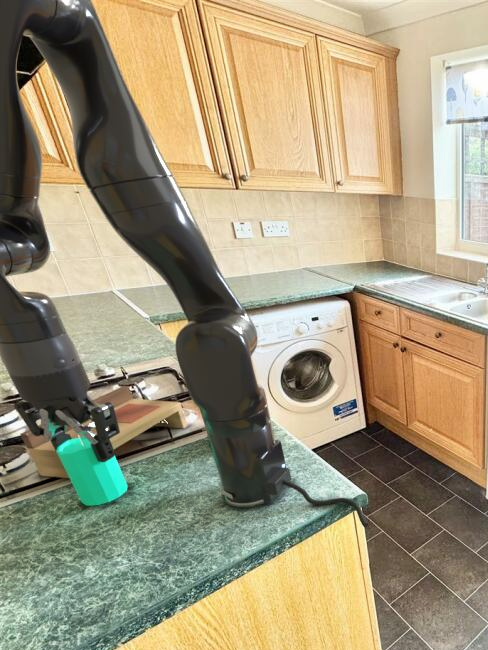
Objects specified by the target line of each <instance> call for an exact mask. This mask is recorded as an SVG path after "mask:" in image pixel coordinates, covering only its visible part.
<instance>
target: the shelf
mask: <svg viewBox="0 0 488 650" xmlns="http://www.w3.org/2000/svg"><path fill="white" fill-rule="evenodd" d="M92 400H93V402H94V403H96V404H104V403H106V402H110V403H112V404H113V406H114V410H115V414H116V418H117V422H118V426H119V430H120V433H119V434H117V435H115V436H114V437H112V438H110V441H111V444H112V446H113V448H114V450H115V449H117V448H119V447H120V446H122V445H125V444H126V443H127V442H129V441H131V440H132V439H134V438H136V437H137V436H138V435H140V434H142V433H144V432H145V431H147V430H149V429H150V428H152V427H160V428H161V427H162V428H173V429H185V428H187V427H188V423H187V420H186V416H185V412H184V410H183V407H182V403H181V402H179V401H165V400H156V399H155V400H154V399H142V398H141V399H140V398H134V397H133V394H132V392H131V389H130V386H127V385H123V386H121V387H119V388H116V389H114V390H112V391H110V392H107V393H106V394H104V395H101V396H99V397H97V398H95V399H92ZM164 419H165V420H166V421H167V422H168V424H167V423H166V424H165V423H159V422H160V421H162V420H164ZM90 423H91V419H90V418H89V420H88V421H86V422H84V423H82V424H81V425H82V426H86V425H88V424H90ZM37 425H38V426H39V427H40V426H41V424H37ZM107 430H109V426H108V427H107ZM91 431H92V432H93V433H94V434H97V432H96V429H95V428H91ZM65 434H70V436H71V438H72V439H75V438H79V437H78V435H79V436H80V437H83V436H84V435H83V434H78V433H76V432H75V431H74V430H73V429H72V428H71V427H70V426H68V428H67V432H66V433H65ZM20 437H21V439H22V441H23V443H24V445H25V447H26V449H27V451H28V453H29V454H30V456H31V458H32V460H33V462H34V464H35V466H36V469H37V470H38V473H39V474H40V476H42V477H51V478H52V477H53V478H62V479H64V478H65V479H70V478H69V476H68V474H67V472H66V470H65V468H64V466H63V464H62V462H61V460H60V458H59V456H58V454H57V453H56V451H55V449H54V447H53V445H52V443H51V441H49V440H47V439H45V438H44V436H43V435H40V436H35V435H33V434H32V432H31V431H30V429H27V430H25V431H24V432H21V433H20Z"/></svg>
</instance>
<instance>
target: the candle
mask: <svg viewBox="0 0 488 650" xmlns="http://www.w3.org/2000/svg"><path fill="white" fill-rule="evenodd" d="M95 435H96V434H95ZM78 437H79V438H75V439H71V440H67V441H65V442H64V443H62V444H61V445H59V446H58V448H57V450H56V452H57V454H58V456H59V458H60V460H61V462H62V464H63V466H64V468H65V470H66V472H67V474H68V476H69V478H68V479H69V480H70V482H71V484H72V486H73V488H74V490H75V492H76V494H77V496H78V498H79V500H80V502H81V503H82V505H83V504H84V505H85V506H98V505H103V504H106V503H110V502H112V501H114V500H116V499H118V498H120V497H122V496H123V495H124V494H125V493H126V492H127V491H128V488H129V487H128V483H127V481H126V478H125V475H124V474H123V471H122V469H121V467H120V465H119V462H118V460H117V458H116V454H115V455H114V457H113V458H111V459H109V460H108V461H106V462H99V461H98V460H97V458H96V455H95V453H94V451H93V449H92V446H91V442H90V441H89V440H88V439H87V438H86V437H85V436H83V437H80V436H79V435H78Z"/></svg>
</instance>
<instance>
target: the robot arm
mask: <svg viewBox="0 0 488 650" xmlns="http://www.w3.org/2000/svg"><path fill="white" fill-rule="evenodd" d="M24 36H25V37H29V39H30V40H31V41H32V42H33V44H34V45H35V47H36V48H37V50H38V52H39V53H40V54H41V56H42V57H43V59H44V61H45V63H46V64H47V66H48V68H49V70H50V71H51V73H52V74H53V76H54V78H55V80H56V81H57V83H58V85H59V87H60V89H61V91H62V93H63V96H64V97H65V100H66V103H67V106H68V109H69V115H70V120H71V128H72V129H71V130H72V131H71V132H72V143H73V149H74V150H73V151H74V158H75V163H76V166H77V170H78V172H79V175H80V178H81V179H82V181H83V183H84V185H85V187H86V188H87V190H88V191H89V193H90V195H91V197H92V198H93V200H94V201H95V203H96V204H97V206H98V208H99V210H100V211H101V213H102V214H103V216H104V218H105V220H106V221H107V222H108V224H109V225H110V226H111V228H112V229H113V230H114V232H115V233H116V234H117V236H119V237H120V239H121V240H122V241H123V242H124V243H125V244H126V245H127V246H128V247H129V248H130V249H131V250H132V251H133V252H135V254H137V255H138V257H140V258H141V259H142V260H143V261H144V262H145V263H146V264H147V265H148V266H149V267H151V268H152V269H153V270H154V271H155V273H157V274H158V275H159V276H160V278H161V279H162V280H163V281H164V282H165V283H166V285H167V286H168V288H169V289H170V291H171V292H172V294H173V295H174V297H175V299H176V301H177V303H178V305H179V306H180V308H181V311H182V312H183V314H184V316H185V318H186V321H187V323H186V324H185V325H184V326H183V327H182V328H180V330H179V331H178V333H177V334H176V337H175V341H174V342H175V343H174V346H175V348H174V349H175V355H176V359H177V362H178V365H179V368H180V372H181V375H182V378H183V379H184V384H185V385H186V388H187V389H186V390H187V391H188V395H189V397H190V398H191V400H192V402H193V403H194V405H195V406H196V407H198V408H199V411H200V414H201V418H202V423H203V425H204V428H205V432H206V435H207V438H208V442H209V446H210V449H211V452H212V456H213V459H214V463H215V466H216V469H217V474H218V476H219V479H220V483H221V486H222V488H220V491H221V494H223V496H224V499H225V502H226V503H227V504H228V505H229V506H231V507H233V508H237V509H247V508H248V509H249V508H254V507H258V506H261V505H271V504H272V503H274V502H275V500H276V499H277V498H278V497H279V495H281V494H282V493H283V491H284V490H285V489H286V488H287V487H289V488H291V489H293V490H295V491H296V492H298V493H300V494H301V496H303V498H304V499H305V501H306V502H307V503H309V504H311V505H315V506H327V505H334V504H338V503H343V504H344V503H345V504H347V505H350V506H352V507H353V509H355V511H356V515H357V517H358V520H359V521H360V523H361V525H362V527H363V528H367V527H368V526H369V524H368V521H367V520H366V517H365V515H364V513H363V511H362V508H361V507H360V505H359V504H358V503H357V502H356V501H354V500H353V499H350V498H347V497H338V498H337V497H336V498H332V499H326V500H325V499H324V500H317V499H313V498H312V497H311V496H310V495H309V493H308V492H307V491H306V489H304V488H303V487H301V486H299V484H296V483H294V482H292V474H291V470H290V468H289V467H287V465H286V464H287V463H286V460H285V454H284V450H283V444H282V441H281V440H280V439H276V437H275V433H274V429H273V425H272V420H271V414H270V410H269V406H268V399H267V395H266V391H265V389H264V388H263V386H261V384H258V381H257V378H256V373H255V370H254V365H253V360H252V356H253V354H254V353H255V351H256V349H257V346H258V342H259V341H258V339H259V336H258V331H257V328H256V325H255V324H254V322H253V320H252V319H251V317H250V315H249V314H248V312H247V311H246V309H245V307H243V305H242V304H241V302H240V300H239V299H238V297H237V296H236V294H235V292H234V291H233V290H232V288H231V286H230V285H229V284H228V282H227V280H226V279H225V277H224V275H223V273H222V272H221V270H220V268H219V266H218V264H217V262H216V260H215V258H214V255H213V253H212V251H211V249H210V246H209V245H208V242H207V240H206V238H205V236H204V234H203V232H202V230H201V228H200V226H199V224H198V222H197V220H196V218H195V216H194V214H193V212H192V210H191V208H190V205H189V203H188V201H187V199H186V197H185V195H184V193H183V191H182V189H181V187H180V186H179V184H178V181H177V180H176V178H175V177H174V174H173V172H172V171H171V169H170V167H169V165H168V164H167V162H166V160H165V159H164V156H163V154H162V153H161V150H160V149H159V147H158V145H157V143H156V141H155V139H154V136H153V135H152V133H151V131H150V129H149V126H148V124H147V122H146V120H145V118H144V117H143V114H142V113H141V111H140V109H139V107H138V105H137V102H135V99H134V97H133V95H132V94H131V92H130V89H129V87H128V85H127V82H126V80H125V78H124V76H123V73H122V71H121V67H119V64H118V61H117V59H116V56H115V54H114V51H113V49H112V46H111V44H110V42H109V39H108V37H107V34H106V32H105V29H104V27H103V24H102V22H101V19H100V17H99V15H98V13H97V11H96V7H95V5H94V4H93V2H92V0H0V359H1V362H2V364H3V365H4V367H5V369H6V371H7V373H8V375H9V378H10V379H11V381H12V383H13V385H14V387H15V389H16V392H17V393H18V395H19V397H20V399H21V400H20V401H18V402H15V403H14V404H13V406H14V408H15V409H16V411H17V413H18V414H19V416H20V417H21V419H22V420H23V423H25V425H26V426H27V428H28V430H30V431H31V432H32V434H33V435H35V436H40V435H43V436H44V438H45V439H47V440H49V441H51V443H52V445H53V447H54V449H55V451H56V450H57V448H58V446H59V445H61V444H62V443H64V442H65V441H67V440H71V439H72V438H71V436H70V434H65V433H66V432H67V428H68V426H70V427H71V428H72V429H73V430H74V431H75V432H76V433H78V434H83V435H84V436H85V437H86V438H87V439H88V440H89V441H90V442H91V446H92V449H93V451H94V453H95V455H96V458H97V460H98V461H99V462H106V461H108V460H109V459H111V458H113V457H114V455H115V456H116V451H115V449H114V448H113V446H112V444H111V441H110V438H112V437H114V436H115V435H117V434H119V433H120V430H119V426H118V422H117V418H116V414H115V410H114V406H113V404H112V403H110V402H106V403H104V404H96V403H94V402H93V400H94V399H92V398H91V397H90V396H89V394H88V390H89V389H90V387H91V381H90V379H89V376H88V374H87V371H86V369H85V367H84V365H83V363H82V360H81V357H80V355H79V353H78V350H77V348H76V346H75V343H74V341H73V340H72V339H71V338H70V336H69V334H68V332H67V330H66V328H65V326H64V322H63V320H62V318H61V316H60V313H59V311H58V308H57V307H56V305H55V303H54V301H53V300H52V298H51V297H50V296H49V295H47V294H45V293H42V292H39V291H21V290H20V291H19V290H17V289H16V288H15V286H14V285H13V284H12V283H11V282H10V281H9V280H8V278H7V277H11V276H16V275H17V276H18V275H23V274H28V273H33V272H36V271H39V270H40V269H41V268H44V266H45V265H46V263H47V262H48V260H49V258H50V255H51V244H50V240H49V236H48V232H47V229H46V226H45V221H44V217H43V214H42V211H41V208H40V205H39V200H40V193H41V184H42V175H43V151H42V146H41V144H40V143H41V142H40V139H39V136H38V133H37V131H36V129H35V126H34V125H33V122H32V119H31V117H30V115H29V113H28V111H27V109H26V106H25V103H24V101H23V98H22V95H21V91H20V87H19V83H18V75H17V74H18V73H17V69H18V68H17V64H18V63H17V62H18V56H19V52H20V51H19V50H20V46H21V43H22V39H23V37H24ZM89 418H90V419H91V423H90V424H88V425H86V426H82V425H81V424H82V423H84V422H86V421H88V420H89ZM39 420H40V425H41V426H40V427H39V426H38V425H39V424H38V423H37V421H39ZM108 426H109V430H107V427H108ZM91 428H95V429H96V432H97V434H96V435H95V434H94V433H93V432H92V431H91ZM56 453H57V452H56Z"/></svg>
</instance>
